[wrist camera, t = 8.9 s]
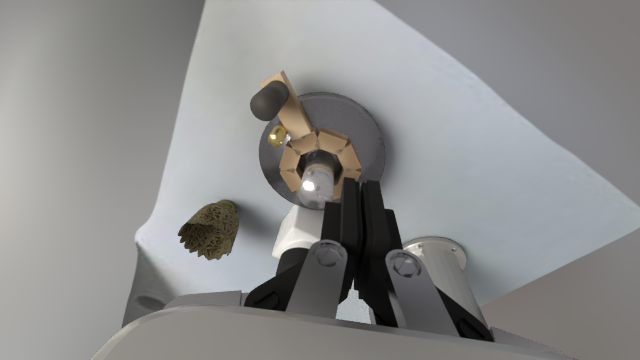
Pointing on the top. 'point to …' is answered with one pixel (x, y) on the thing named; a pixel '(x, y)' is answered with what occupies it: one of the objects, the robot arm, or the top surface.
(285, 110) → the wrench
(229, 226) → the cup
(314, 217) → the medicine bottle
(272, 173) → the post base
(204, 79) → the top surface
